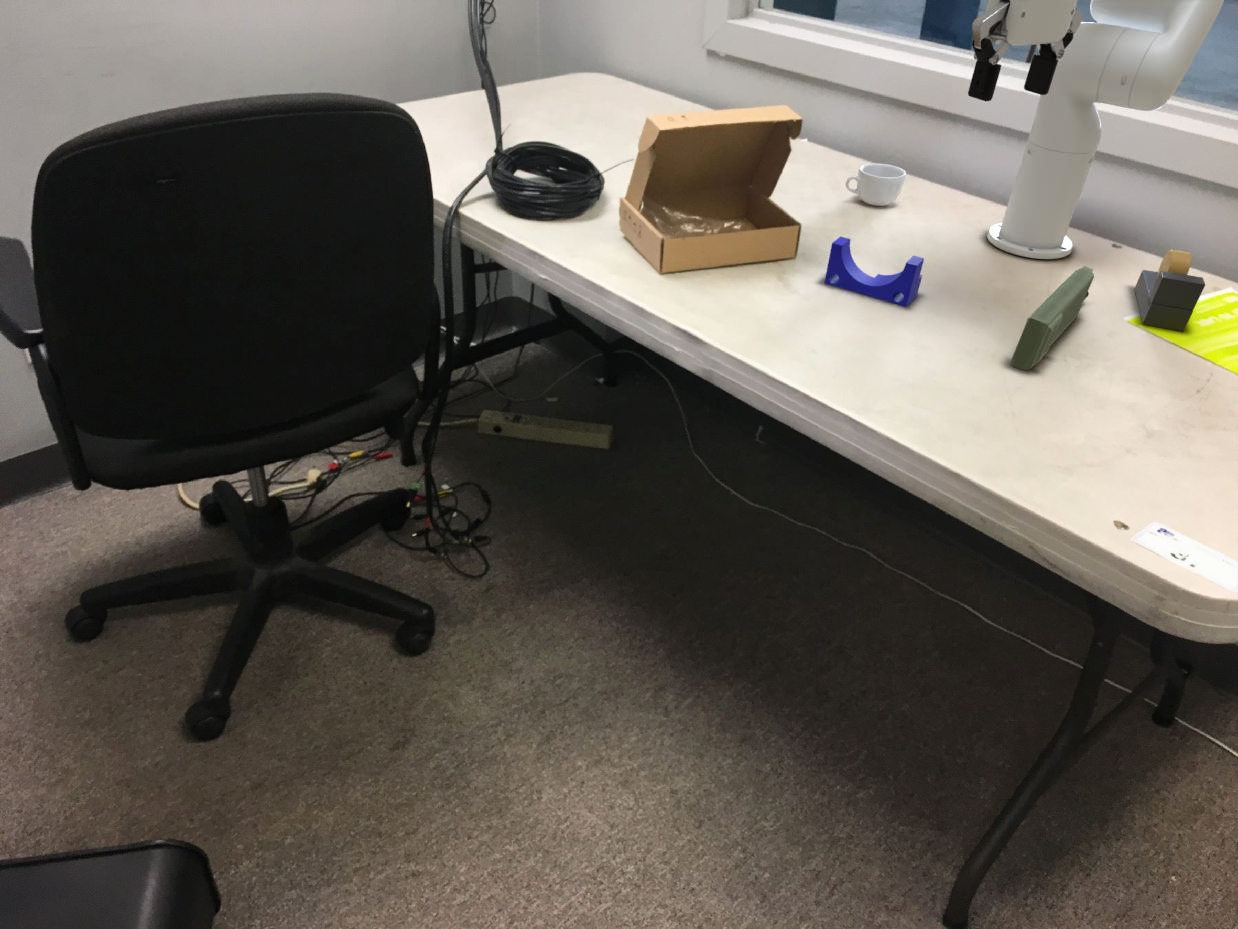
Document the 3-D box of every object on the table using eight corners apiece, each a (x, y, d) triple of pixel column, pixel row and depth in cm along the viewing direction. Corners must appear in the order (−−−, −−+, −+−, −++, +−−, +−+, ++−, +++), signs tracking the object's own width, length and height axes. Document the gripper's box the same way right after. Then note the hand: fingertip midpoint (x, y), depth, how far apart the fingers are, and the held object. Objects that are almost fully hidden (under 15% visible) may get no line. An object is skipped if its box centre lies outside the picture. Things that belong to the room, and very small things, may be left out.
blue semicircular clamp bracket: (917, 295, 121) (927, 254, 117) (906, 306, 118) (917, 265, 114) (836, 272, 126) (844, 233, 122) (824, 283, 123) (832, 242, 119)
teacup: (888, 193, 154) (895, 162, 151) (906, 209, 148) (913, 177, 145) (835, 194, 153) (840, 163, 149) (850, 210, 147) (856, 178, 143)
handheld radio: (1005, 363, 106) (1067, 297, 122) (1031, 373, 105) (1091, 305, 120) (1024, 315, 102) (1086, 253, 118) (1052, 325, 100) (1111, 261, 116)
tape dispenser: (1134, 288, 125) (1156, 235, 120) (1172, 295, 124) (1196, 242, 119) (1142, 324, 116) (1167, 268, 111) (1183, 331, 115) (1210, 275, 110)
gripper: (1079, -75, 100) (1031, 83, 110) (974, -75, 93) (932, 93, 103) (1137, -67, 95) (1081, 97, 105) (1030, -68, 88) (981, 109, 98)
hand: (1007, 95), depth 104 cm, fingers open, 9 cm apart
